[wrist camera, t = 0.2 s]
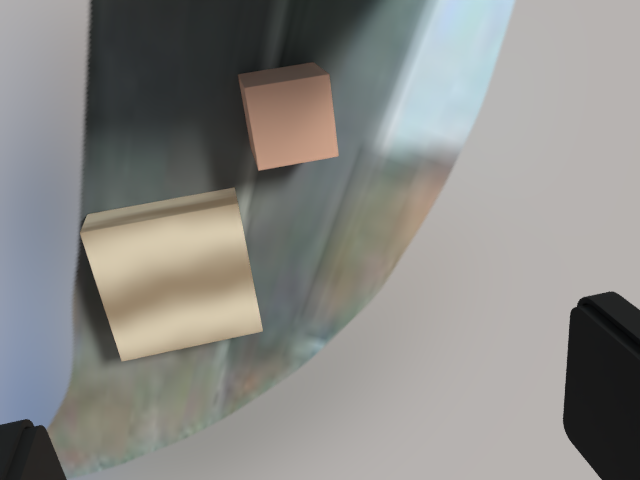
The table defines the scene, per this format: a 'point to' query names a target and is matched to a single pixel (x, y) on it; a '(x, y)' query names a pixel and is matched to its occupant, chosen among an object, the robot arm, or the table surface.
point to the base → (173, 273)
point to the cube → (289, 115)
